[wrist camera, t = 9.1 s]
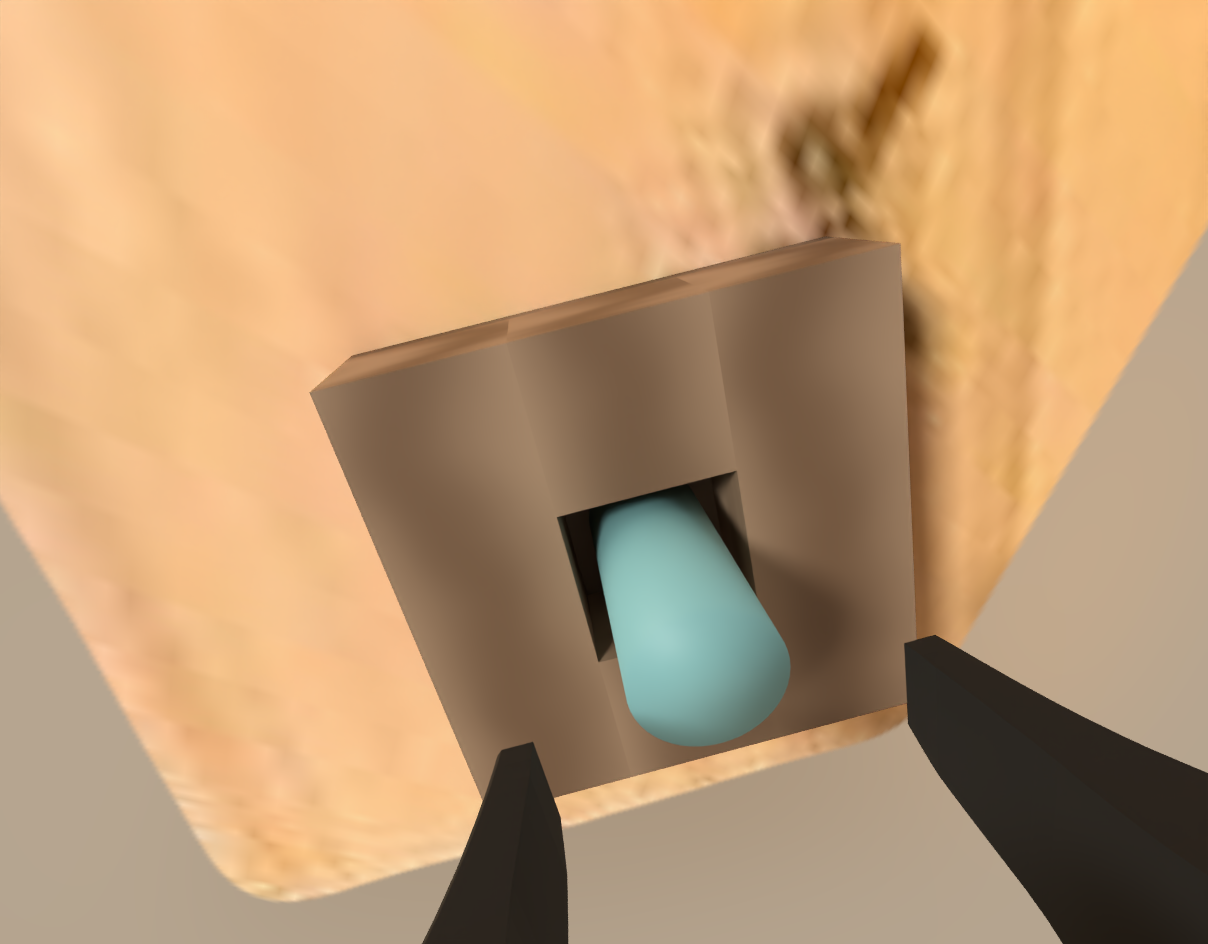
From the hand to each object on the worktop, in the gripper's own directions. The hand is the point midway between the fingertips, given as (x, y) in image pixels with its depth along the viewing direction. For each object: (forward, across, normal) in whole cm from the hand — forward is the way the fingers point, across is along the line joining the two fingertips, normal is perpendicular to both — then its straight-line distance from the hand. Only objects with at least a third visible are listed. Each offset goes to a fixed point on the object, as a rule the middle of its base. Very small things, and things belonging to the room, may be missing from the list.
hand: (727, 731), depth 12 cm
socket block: (+10, 0, 0) cm, 10 cm away
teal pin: (+9, 0, 0) cm, 9 cm away
